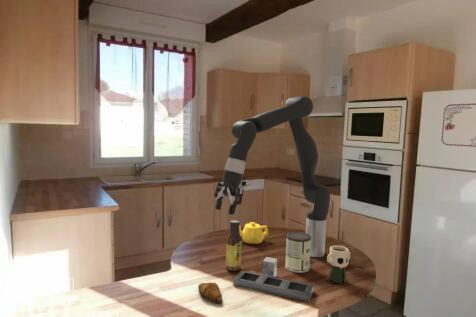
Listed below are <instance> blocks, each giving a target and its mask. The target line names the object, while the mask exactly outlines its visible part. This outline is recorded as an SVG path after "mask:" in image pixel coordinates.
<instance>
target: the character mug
mask: <svg viewBox="0 0 476 317" xmlns="http://www.w3.org/2000/svg"><path fill="white" fill-rule="evenodd" d="M350 259H351V251H350V250H349V248H347V247H346V246H343V245H331V246H330V247H329V254H327V257H326V262H327V263H329V264H330V265H331V267H330V271H329V280H331V281H332V282H334V283H336V284H342V283H346V281H347V277H346V276H347V274H346V267H347V266H348V265H349V261H350Z"/></svg>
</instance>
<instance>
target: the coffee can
mask: <svg viewBox="0 0 476 317" xmlns="http://www.w3.org/2000/svg"><path fill="white" fill-rule="evenodd" d="M285 242H286V244H285V245H286V246H285V264H284V265H285V266H284V267H285V269H287V271H290V272H292V273H298V274H299V273H307V272H309V271H310V264H311V261H310V260H311V256H310V242H311V236H310V235H309V234H306V232H303V231H301V232H300V231H290V232H288V233H286V241H285Z"/></svg>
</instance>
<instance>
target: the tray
mask: <svg viewBox="0 0 476 317" xmlns="http://www.w3.org/2000/svg"><path fill="white" fill-rule="evenodd" d="M232 285H233V286H236V287H239V288H240V287H241V288H244V289H249V290H254V291H258V292H259V291H260V292H262V293H269V294H271V295H277V296H280V297H286V298H289V297H290V298H289V299H294V300H297V301H303V300H304V302H310V301H311V298H312V296H313V293H314V284H310V283H304V282H301V281H297V280H296V281H294V280H290V279H285V278H280V277H277V276H276V277H271V276H266V275H262V274H260V273H256V272H250V271H245V270H240V272H238V274H237V275H235V277H234V278H233V284H232Z"/></svg>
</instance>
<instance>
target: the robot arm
mask: <svg viewBox="0 0 476 317" xmlns="http://www.w3.org/2000/svg"><path fill="white" fill-rule="evenodd" d="M313 109H314V104H313V101H312V99H311V98H310V97H308V96H305V95H300V96H292V97H289V98H288V99H286V101H285V104H284V106H283V107H279V108H275V109H271V110H268V111H265V112H263V113H260V114H257V115H256V116H253V117H249V118H246V119H242V120H239V121H236V122H235V123H234V124H233V126H232V128H231V134H232V136H233V137H234V138H236V139H237V141H236V142H235V143H233V144H232V145H230V149H229V152H228V157H227V160H226V163H225V166H224V170H223V171H224V172H223V174H222V178H221V180H222V181H223V183H222V182H217V184H216V189H215V190H214V191H215V192H214V194H213V195H214V196H213V197H214V198H215V199H216V203H215V207H214V208H215V210H218V211H220V210H221V209H222V204H223V200H224V199H225V198H226V197H228V199H229V201H230V205H229V209H228V213H227V214H228V215H231V216H232V215H233V216H234V214H235V212H236V208H237V206H238V205H240V206H241V204H242V201H243V198H244V196H243V195H244V192H245V190H244V188H240V187H239V186H240V185H241V184H242V181H243V179H244V178H243V177H244V173H245V169H246V161H247V157H248V153H249V151H250V149H251V147H252V145H253V144H254V141H255V139H256V136H257V133H263V132H265V131H268V130H271V129H273V128H275V127H277V126H279V125H281V124H284V123H288V124H289V127H290V130H291V133H292V138H293V141H294V145H295V151H296V156H297V160H298V163H299V170H300V174H301V180H302V181H301V182H302V189H303V196H304V199H305V200H306V202H308V203H311V204H313V209H312V210H308V211H307V212H306V218H305V219H306V220H305V221H306V222H305V233H306V234H309V235H310V236H311V242H310V258H311V257H312V258H322V257H324V256H325V253H326V252H325V250H326V248H325V247H326V235H327V234H326V232H327V217H328V214H329V210H330V202H331V193H330V189H329V188H328V187H327V186H325V185H322V184H321V185H320V184H318V183H317V179H316V174H315V172H316V167H317V164H318V161H319V153H318V149H317V148H318V147H317V144H316V141H315V139H314V138H313V137H312V135H311V134H310V133H309V132H308V130H307V128H306V127H305V124H304V121H303V118H307V117H308V116H310V115H311V114H312V113H313Z"/></svg>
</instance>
